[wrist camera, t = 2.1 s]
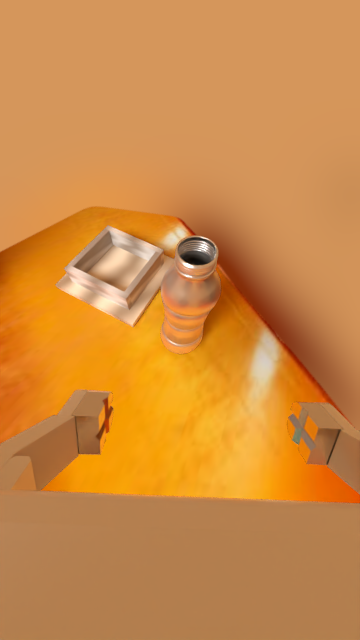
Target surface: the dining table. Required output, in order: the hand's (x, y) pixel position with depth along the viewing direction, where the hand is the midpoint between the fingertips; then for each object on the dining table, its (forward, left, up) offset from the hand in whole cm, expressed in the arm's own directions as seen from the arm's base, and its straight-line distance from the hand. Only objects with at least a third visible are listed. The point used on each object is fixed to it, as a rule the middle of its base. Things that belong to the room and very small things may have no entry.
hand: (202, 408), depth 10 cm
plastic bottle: (-5, +12, -23) cm, 27 cm away
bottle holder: (-21, +18, -23) cm, 36 cm away
